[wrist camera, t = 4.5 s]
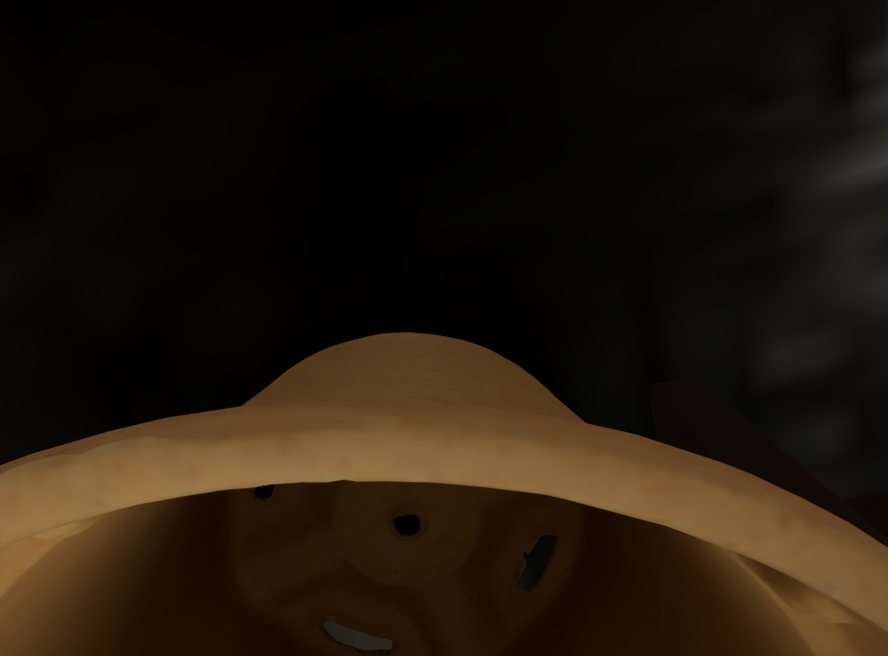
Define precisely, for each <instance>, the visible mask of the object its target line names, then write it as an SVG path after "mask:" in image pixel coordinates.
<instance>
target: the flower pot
mask: <svg viewBox="0 0 888 656" xmlns="http://www.w3.org/2000/svg"><path fill="white" fill-rule="evenodd" d="M270 484H275V486H274V490H273V492H272V494H271V496H269V497H259V496H256V494H255V492H256V489H257V487H258V486H264V485H270ZM408 514H411V515H416V516H417V517H418V518H419V521H420V528H419V530H418V531H416V532H415V533H413V534H400V533H399V532H398V531H397V529H396V527H395V523H394V520H395V518H396V517H400V516H404V515H408ZM544 535H554V536H555V537H556V539H555V541H554V543H553V548H552V551H551V554H550V556H549V558H548V561H547V563H546V565H545V568H544V570H543V572H542V574H541V575H540V577H539V578H538V579H537V580H536V581H535V582H534V583H533V584H532V585H530V586H528V587H525V588H520V587H519V585H518V580H519V579H520V577H521V576H522V573H523V570H524V568H525V566H526V562H527V561H526V559H525V558H523V555H524V553H525V552H526V553H527V554H528V555H529V553H530V552H531V551H532V549H534V548H535V545H536V543H537V542H538V541H539V538H540V536H544ZM325 621H333V622H335V623H337V624H339V625H343V626H346V627H349V628H351V629H354V630H358V631H361V632H363V633H366V634H368V635H371V636H373V637H377V638H388V639H390V640H392V641H393V647H392V649H390V650H381V649H380V650H372V651H365V650H361V649H357V648H356V647H354V646H349V645H344V644H343V643H341V642H338V641H336V640H335V639H334V638H333V637H332V636H331V635H330V634H329V633H328V632H326V630H325V629H324V627H323V623H324V622H325ZM0 656H888V547H886V546H885V545H883V544H881V543H880V542H878V541H877V540H875V539H874V538H872V537H871V536H869V535H868V534H866V533H864V532H863V531H861V530H860V529H858V528H857V527H855V526H854V525H852V524H851V523H849V522H847V521H845V520H843V519H841V518H839V517H838V516H836V515H834V514H832V513H830V512H828V511H826V510H824V509H822V508H820V507H818V506H816V505H814V504H813V503H811V502H809V501H807V500H805V499H803V498H801V497H799V496H797V495H795V494H792V493H790V492H788V491H786V490H784V489H781V488H779V487H777V486H775V485H773V484H771V483H769V482H767V481H765V480H763V479H761V478H759V477H756V476H754V475H752V474H750V473H747V472H744V471H742V470H739V469H737V468H734V467H732V466H729V465H727V464H724V463H721V462H718V461H715V460H712V459H709V458H706V457H703V456H700V455H697V454H694V453H691V452H688V451H685V450H682V449H679V448H676V447H672V446H669V445H666V444H663V443H660V442H657V441H654V440H651V439H648V438H645V437H642V436H639V435H635V434H631V433H627V432H622V431H618V430H613V429H609V428H604V427H600V426H596V425H591V424H587V423H585V422H584V421H583V420H581V419H580V418H579V417H578V416H577V415H576V414H575V413H573V412H572V411H571V410H570V409H569V408H567V407H566V406H565V405H564V404H563V403H562V402H560V401H559V400H558V399H557V398H556V397H555V396H554V395H553V394H552V393H551V392H550V391H549V390H548V389H547V388H546V387H544V386H543V385H542V384H541V383H540V382H539V381H538V380H537V379H535V378H534V377H533V376H531V375H530V374H529V373H528V372H526V371H525V370H524V369H522V368H521V367H519V366H518V365H516V364H515V363H513V362H511V361H510V360H508V359H506V358H504V357H502V356H501V355H499V354H497V353H495V352H494V351H491V350H489V349H487V348H484V347H482V346H480V345H477V344H474V343H470V342H467V341H464V340H460V339H455V338H450V337H445V336H439V335H434V334H423V333H410V332H403V333H384V334H378V335H373V336H368V337H364V338H360V339H356V340H352V341H348V342H344V343H341V344H338V345H335V346H332V347H329V348H327V349H324V350H322V351H320V352H318V353H316V354H314V355H312V356H310V357H308V358H306V359H304V360H303V361H301V362H300V363H298V364H297V365H295V366H293V367H292V368H290V369H289V370H287V371H286V372H285V373H283V374H282V375H281V376H280V377H279V378H277V379H276V380H275V381H274V382H273V383H271V384H270V385H269V386H268V387H266V388H265V389H264V390H262V391H261V392H260V393H259V394H257V395H256V396H254V397H253V398H252V399H250V400H249V401H248V402H246V403H245V404H244V405H242V406H240V407H234V408H227V409H221V410H214V411H208V412H201V413H195V414H188V415H182V416H175V417H169V418H164V419H159V420H155V421H151V422H147V423H143V424H138V425H134V426H130V427H126V428H121V429H117V430H113V431H109V432H106V433H102V434H99V435H95V436H92V437H89V438H85V439H82V440H78V441H75V442H71V443H68V444H65V445H61V446H58V447H54V448H51V449H47V450H44V451H41V452H37V453H34V454H31V455H28V456H25V457H22V458H20V459H17V460H14V461H11V462H9V463H6V464H3V465H0Z"/></svg>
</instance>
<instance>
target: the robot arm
mask: <svg viewBox="0 0 888 656" xmlns="http://www.w3.org/2000/svg"><path fill="white" fill-rule="evenodd" d="M648 391H649V397H650V403H651V409H652V415H653V420H654V426H655V432H656V438H657V442H660V443H663V444H666V445H669V446H672V447H676V448H679V449H682V450H685V451H688V452H691V453H694V454H697V455H700V456H703V457H706V458H709V459H712V460H715V461H718V462H721V463H724V464H727V465H729V466H732V467H734V468H737V469H739V470H742V471H744V472H747V473H750V474H752V475H754V476H756V477H759V478H761V479H763V480H765V481H767V482H769V483H771V484H773V485H775V486H777V487H779V488H781V489H784V490H786V491H788V492H790V493H792V494H795V495H797V496H799V497H801V498H803V499H805V500H807V501H809V502H811V503H813V504H814V505H816V506H818V507H820V508H822V509H824V510H826V511H828V512H830V513H832V514H834V515H836V516H838V517H839V518H841V519H843V520H845V521H847V522H849V523H851V524H852V525H854V526H855V527H857V528H858V529H860V530H861V531H863V532H864V533H866V534H868V535H869V536H871V537H872V538H874V539H875V540H877V541H878V542H880V543H881V544H883V545H885V546H886V547H888V494H886V493H878V494H873V495H868V496H864V497H859V498H854V499H849V500H845V501H842V500H841V499H840V498H838V497H837V496H836V495H835V494H834V493H833V492H831V491H830V490H829V489H828V488H827V487H825V486H824V485H823V484H822V483H821V482H820V481H818V480H817V479H816V478H815V477H814V476H812V475H811V474H810V473H809V472H808V471H807V470H805V469H804V468H803V467H802V466H801V465H800V464H798V463H797V462H796V461H795V460H794V459H792V458H791V457H790V456H789V455H788V454H787V453H785V452H784V451H783V450H782V449H781V448H780V447H778V446H777V445H776V444H775V443H774V442H772V441H771V440H770V439H769V438H768V437H767V436H765V435H764V434H763V433H762V432H761V431H760V430H758V429H757V428H756V427H755V426H754V425H752V424H751V423H750V422H749V421H748V420H747V419H745V418H744V417H743V416H742V415H741V414H740V413H738V412H737V411H736V410H735V409H734V408H732V407H731V406H730V405H729V404H728V403H727V402H725V401H724V400H723V399H722V398H721V397H720V396H718V395H717V394H716V393H715V392H714V391H712V390H711V389H710V388H709V387H708V386H707V385H705V384H704V383H703V382H702V381H701V380H699V379H698V378H697V377H696V376H695V375H693V376H688V377H684V378H679V379H674V380H670V381H665V382H661V383H656V384H651V385H648Z"/></svg>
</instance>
